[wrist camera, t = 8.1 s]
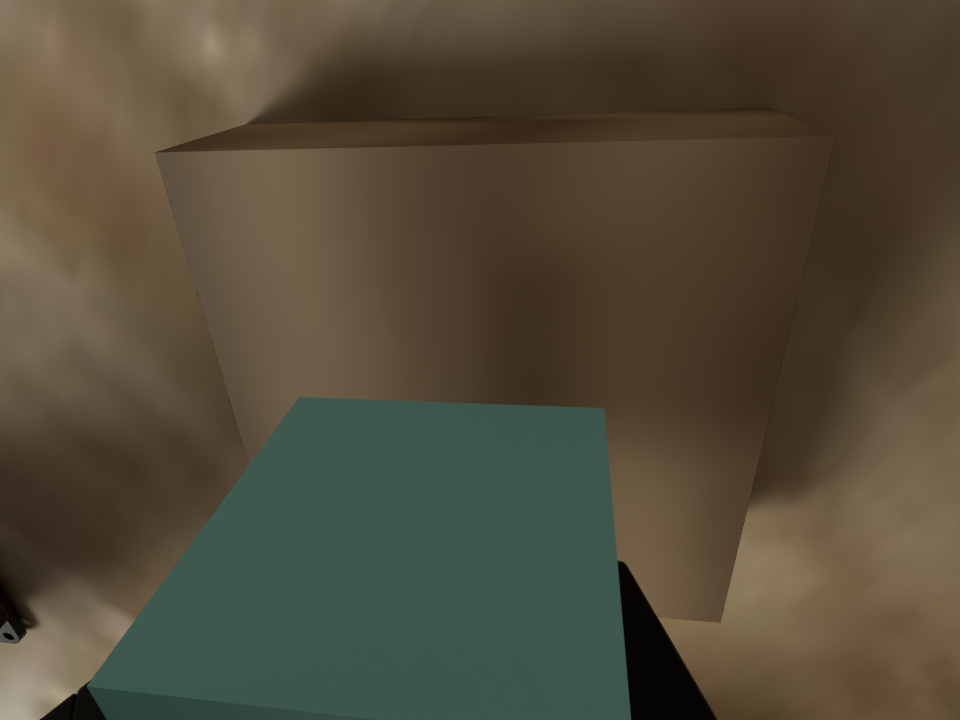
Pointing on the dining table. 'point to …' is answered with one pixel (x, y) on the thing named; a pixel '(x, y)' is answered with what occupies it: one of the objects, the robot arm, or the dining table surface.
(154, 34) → the dining table surface
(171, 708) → the teal block
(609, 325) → the walnut block
